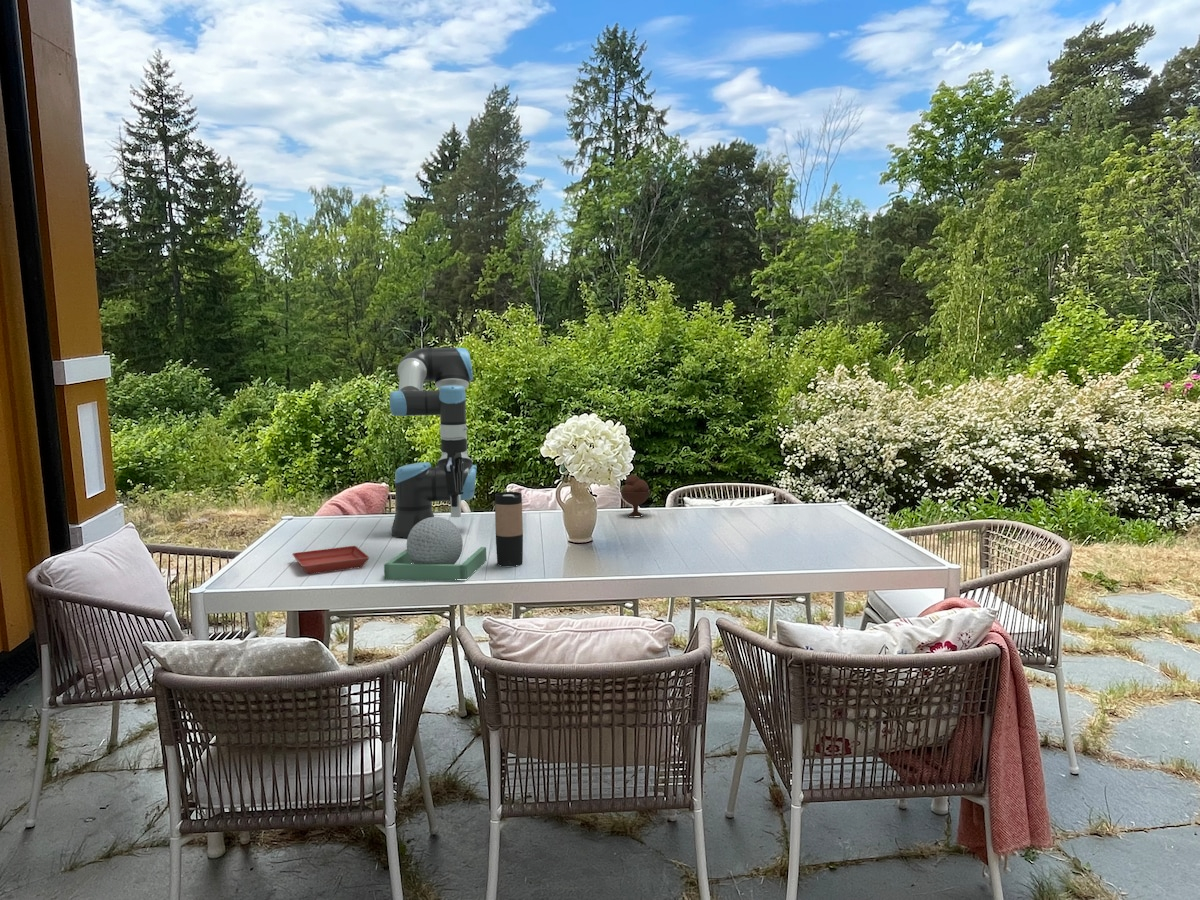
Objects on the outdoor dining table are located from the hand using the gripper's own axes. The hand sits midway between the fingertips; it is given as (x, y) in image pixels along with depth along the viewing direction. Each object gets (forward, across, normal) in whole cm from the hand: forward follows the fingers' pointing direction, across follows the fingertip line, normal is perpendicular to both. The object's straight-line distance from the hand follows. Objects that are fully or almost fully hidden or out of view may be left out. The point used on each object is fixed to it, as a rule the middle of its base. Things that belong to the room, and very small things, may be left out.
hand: (456, 516), depth 243 cm
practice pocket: (+10, -20, -1) cm, 22 cm away
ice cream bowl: (+13, +60, -49) cm, 78 cm away
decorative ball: (+10, -22, -1) cm, 25 cm away
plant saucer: (+11, -18, +32) cm, 38 cm away
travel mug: (+11, -12, -19) cm, 25 cm away
